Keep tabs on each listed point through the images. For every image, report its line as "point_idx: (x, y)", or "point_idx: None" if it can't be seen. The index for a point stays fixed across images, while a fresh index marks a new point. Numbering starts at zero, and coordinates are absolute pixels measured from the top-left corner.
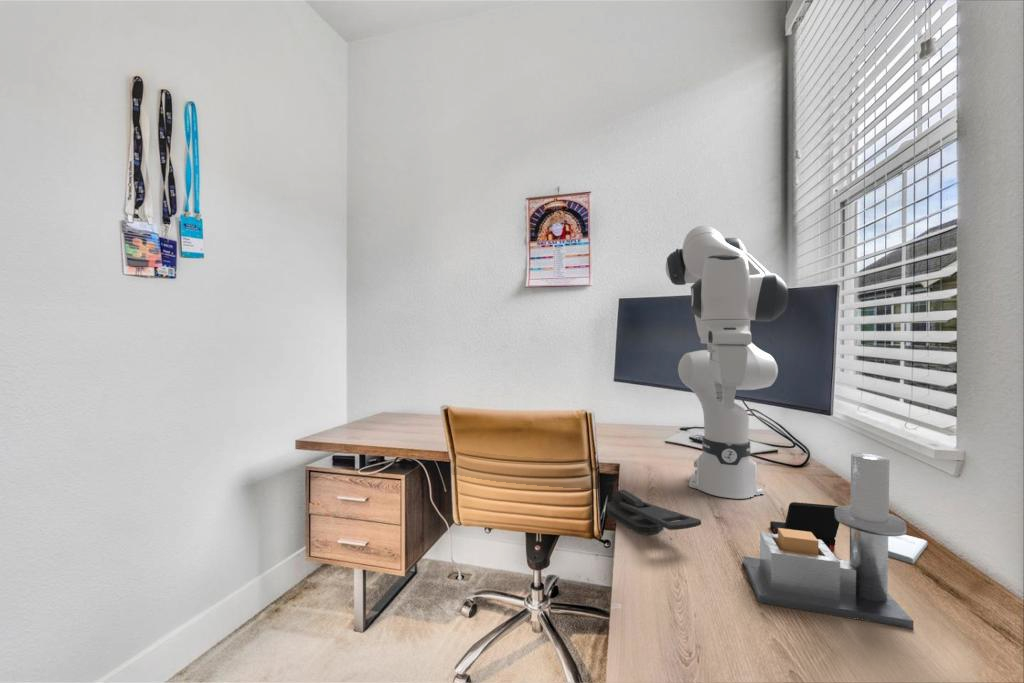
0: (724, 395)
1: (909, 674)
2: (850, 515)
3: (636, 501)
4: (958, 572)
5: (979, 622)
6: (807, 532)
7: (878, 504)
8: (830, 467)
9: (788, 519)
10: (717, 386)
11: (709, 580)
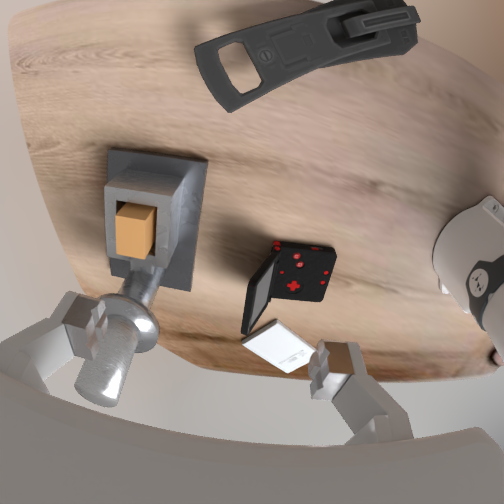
0: (27, 331)
1: (55, 230)
2: (115, 311)
3: (353, 22)
4: (231, 360)
5: None
6: (141, 254)
7: None
8: (474, 377)
9: (261, 265)
10: (370, 409)
11: (148, 98)
